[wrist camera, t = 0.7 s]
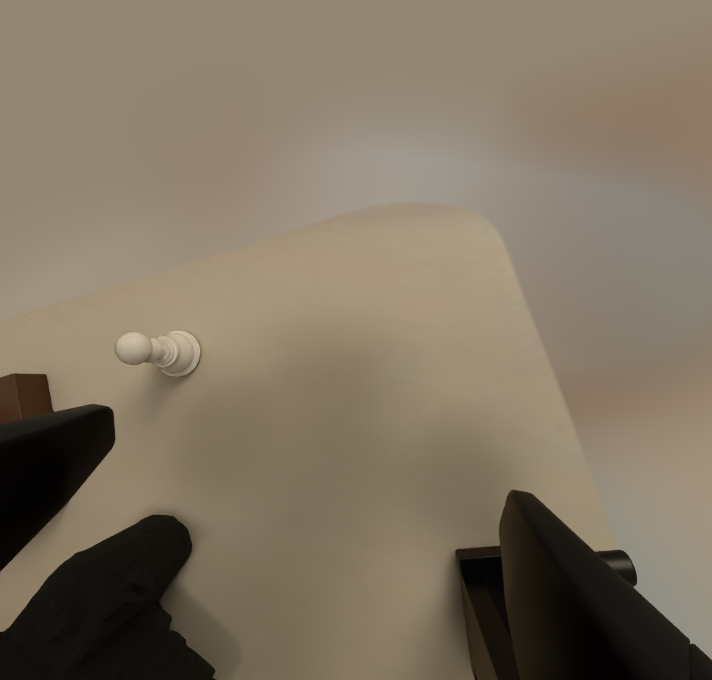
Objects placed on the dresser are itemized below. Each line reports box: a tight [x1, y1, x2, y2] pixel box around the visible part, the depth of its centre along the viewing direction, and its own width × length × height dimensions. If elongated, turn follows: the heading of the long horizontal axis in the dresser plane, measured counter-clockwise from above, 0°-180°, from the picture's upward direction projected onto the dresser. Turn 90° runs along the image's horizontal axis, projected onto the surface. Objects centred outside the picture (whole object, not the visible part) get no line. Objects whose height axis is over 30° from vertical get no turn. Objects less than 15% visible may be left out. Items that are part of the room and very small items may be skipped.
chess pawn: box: [115, 331, 200, 377], centre depth 22 cm, size 3×3×5 cm
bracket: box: [456, 546, 520, 680], centre depth 17 cm, size 6×6×10 cm
